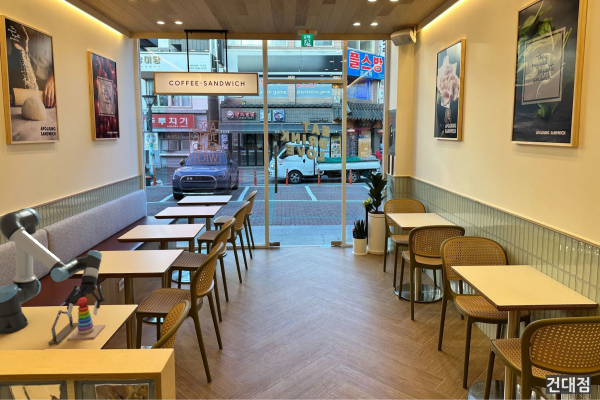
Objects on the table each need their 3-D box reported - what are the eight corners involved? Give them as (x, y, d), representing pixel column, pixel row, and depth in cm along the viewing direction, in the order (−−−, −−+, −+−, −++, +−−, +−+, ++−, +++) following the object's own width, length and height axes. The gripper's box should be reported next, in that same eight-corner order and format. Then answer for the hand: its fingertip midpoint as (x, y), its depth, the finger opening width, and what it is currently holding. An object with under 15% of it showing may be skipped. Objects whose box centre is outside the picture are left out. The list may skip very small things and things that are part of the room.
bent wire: (69, 325, 257) (65, 302, 254) (78, 325, 257) (74, 301, 254) (48, 345, 235) (44, 319, 232) (58, 344, 235) (54, 319, 232)
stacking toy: (88, 335, 241) (82, 301, 238) (74, 334, 243) (69, 300, 239) (97, 328, 249) (92, 295, 245) (84, 327, 250) (79, 294, 247)
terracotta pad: (67, 340, 239) (67, 338, 239) (79, 328, 253) (79, 326, 253) (94, 338, 239) (94, 336, 239) (105, 326, 253) (105, 324, 253)
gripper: (115, 279, 257) (108, 316, 245) (70, 282, 257) (61, 319, 245) (110, 273, 250) (102, 311, 238) (63, 276, 250) (54, 314, 238)
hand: (81, 315), depth 242 cm, fingers open, 13 cm apart
